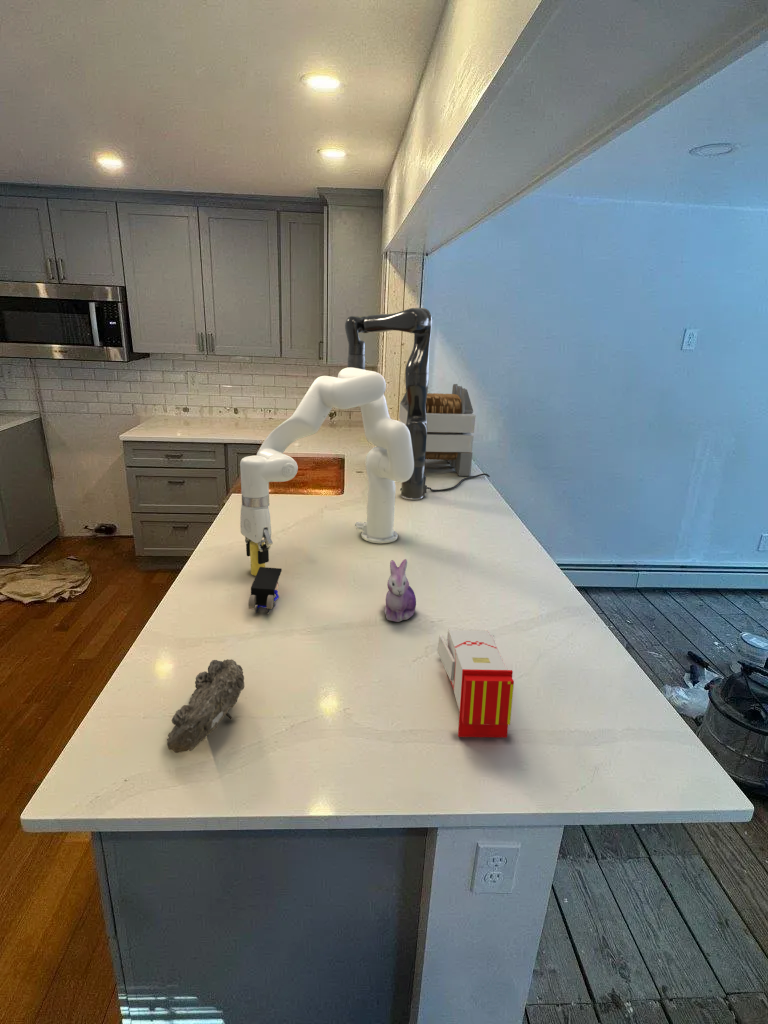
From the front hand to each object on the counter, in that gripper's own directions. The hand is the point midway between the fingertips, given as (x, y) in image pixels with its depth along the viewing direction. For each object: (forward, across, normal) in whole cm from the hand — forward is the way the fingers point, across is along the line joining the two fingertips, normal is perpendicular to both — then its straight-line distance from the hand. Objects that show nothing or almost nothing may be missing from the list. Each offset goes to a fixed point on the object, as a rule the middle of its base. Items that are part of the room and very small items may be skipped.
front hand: (257, 558), depth 165 cm
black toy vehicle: (+5, +18, -8) cm, 20 cm away
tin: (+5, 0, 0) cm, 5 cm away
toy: (+5, +75, +7) cm, 76 cm away
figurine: (+5, +43, +17) cm, 46 cm away
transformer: (+5, -55, +130) cm, 141 cm away
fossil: (+5, +49, -38) cm, 62 cm away
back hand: (-30, -59, +83) cm, 106 cm away
